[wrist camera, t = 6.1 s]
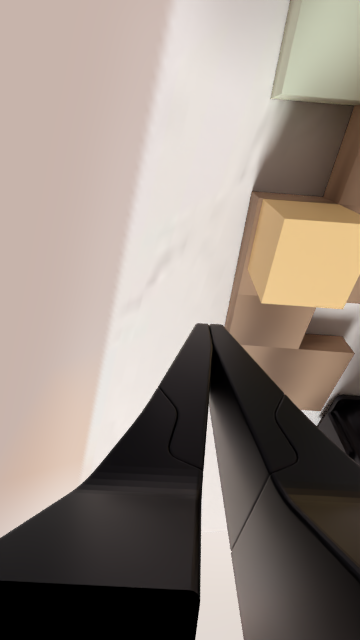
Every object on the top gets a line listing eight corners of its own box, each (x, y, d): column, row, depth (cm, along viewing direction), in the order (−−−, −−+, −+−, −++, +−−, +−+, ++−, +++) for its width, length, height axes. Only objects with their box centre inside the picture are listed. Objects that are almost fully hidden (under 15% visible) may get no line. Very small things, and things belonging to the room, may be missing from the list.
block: (338, 204, 14) (383, 226, 11) (312, 273, 16) (342, 309, 13) (263, 198, 14) (284, 218, 11) (247, 269, 16) (261, 303, 13)
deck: (568, -90, 10) (716, -178, 7) (312, 393, 25) (327, 425, 23) (312, -113, 10) (360, -209, 7) (212, 385, 25) (215, 417, 23)
